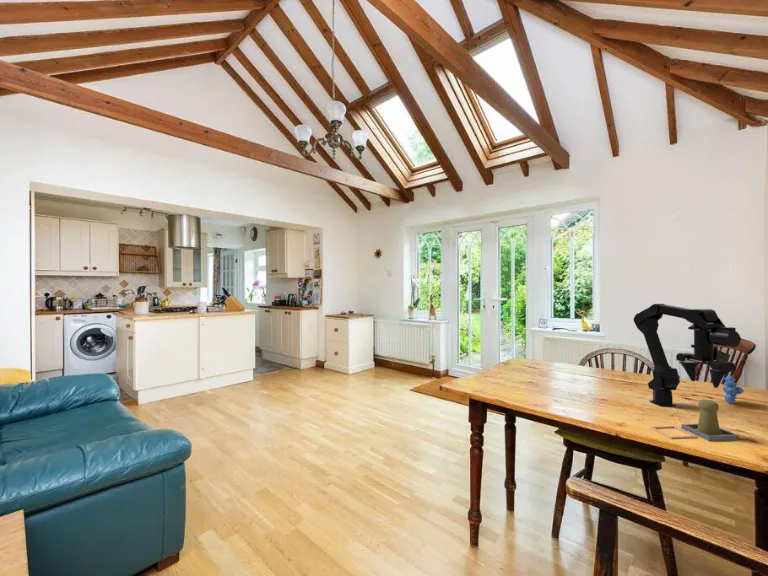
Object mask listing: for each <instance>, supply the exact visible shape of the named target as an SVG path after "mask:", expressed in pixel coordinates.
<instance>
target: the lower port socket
mask: <svg viewBox="0 0 768 576" xmlns="http://www.w3.org/2000/svg"><path fill="white" fill-rule="evenodd" d="M697 427H698V423H688V424H687V423H686V424H685V423H683V424H681V427H680V429H682V430H685V431H687V432H688V431H689V433H690V432H691V434H692V433H693V435H694V434H695V435H696V436H697V437H699V438H701V439H703V438H704V439H703V440H705V439H706V440H705V441H707V442H718V441H719V442H720V441H739V440H740V436H739V434H736V433H734V432H732V431H729V430H726V429H724V428H721V427H719V429H720V434H721V435H707V434H705V433H702V432H700V431H698V430H697Z"/></svg>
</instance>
